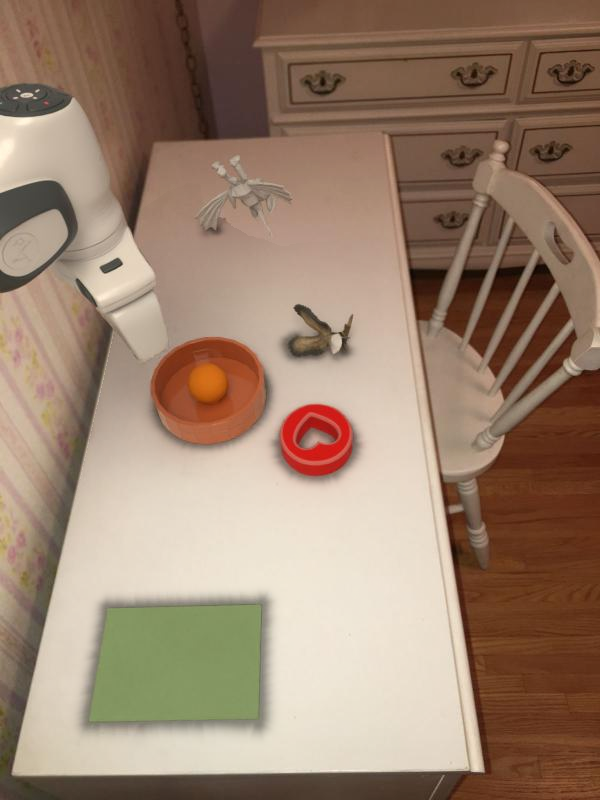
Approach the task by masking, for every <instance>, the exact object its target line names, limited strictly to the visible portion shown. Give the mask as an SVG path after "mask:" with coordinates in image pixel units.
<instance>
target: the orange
mask: <svg viewBox="0 0 600 800" xmlns="http://www.w3.org/2000/svg"><path fill="white" fill-rule="evenodd" d="M188 389H189V391H190V393H191V395H192V396H193V397H194V398H195V399H196V400H197V401H199V402H201V403H205V404H208V405H212V404H216V403H217V402H219V401H220V399H222V398H223V397H224V395H225V394H226V392H227V389H228V378H227V375H226V374H225V372H224V371H223V370H222V369H221V368H220V367H219V366H217V365H214V364H202V365H199V366H197V367H196V368H195V369H194V370H193V371H192V372H191V374H190V376H189V378H188Z"/></svg>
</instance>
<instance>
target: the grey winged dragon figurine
mask: <svg viewBox="0 0 600 800" xmlns="http://www.w3.org/2000/svg"><path fill="white" fill-rule="evenodd" d="M241 159H242V157H241V156H240V154H237V155H235V156H234V157H231V159H229V163H230V167H232V168H233V170H234V171H235V173H236V174H237V176H238V177H239V178H240V180H239V179H238V178H237V177H236V176H235V175H232V176H230V175H229V174H228V171H227V170H226V169H225V166H224V165H223V164H221V162H220V161H219V160H217V161H215V162H213V163H212V165H211V167H210V168H211V169H212V170H215V171H216V173H217V175H218V176H219V178H220V179H224V180H225V181H226V182H227V183H228V184H229V185H230V186H229V188H228V189H226V190H224V191H222V192H221V193H219V194H217V195H216V196H214V197H213V198H212V199H211V200H210V201H209V202H207V203H206V204H205V205H204V206H203V207H201V209H200V210H199V211H198V213H197V214H196V215H195V216H194V219H195V220H197V221H198V226H203V228H204V229H205V231H207V230H208V229H210V228H212V229H213V230H214V231H217V228H218V221H219V219H220V218H219V217H220V215H221V210H222V209H223V207H224V206H225V203H226V202H227V200H229V202H230V204H231V205H232V208H233V209H235V210H236V209H237V199H238V200H240V202H241V203H242V205H244V206H245V207H248V209H249V211H250V214H251V216H252V218H253V219H254V220H256V221H258V222H259V221H260V220H259V217H260V219H261V221H262V222H263V224H264V226H265V228H266V229H267V230H268V233H269V235H270V237H271V239H273V238H274V232H273V231H272V229H271V228H270V226H269V225H268V222H267V217H266V215H265V211H264V208H263V205H262V203H261V202H264V201H265V206H266V208H267V210H268V212H269V217H271V216H272V214H273V212H274V211H275V209H276V207H277V201H278V199H280V200H282V201H284V203H285V202H286V203H287V204H290V205H292V206H293V205H294V204H293V202H292V201H295V199H294V198H293V197H292V196H291V195H292V193H291V192H289V191H288V190H286V189H284V188H285V186H284V185H282V184H276V183H272V182H265V181H264V178H263V177H256V178H255V179H254V178H252V179H248V178H249V176H248V175H247V173H246V171H245V170H244V168H243V166H242V165H241V163H242V162H243V161H242V160H241ZM272 196H273V197H275V198H272Z"/></svg>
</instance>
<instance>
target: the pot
mask: <svg viewBox="0 0 600 800" xmlns="http://www.w3.org/2000/svg"><path fill="white" fill-rule="evenodd" d="M202 364H214V365H217V366H219V367H220V368H221V369H222V370H223V371H224V372H225V374H226V375H227V378H228V389H227V392H226V394H225V395H224V397H223V398H222V399H220V401H219V402H217V403H216V404H212V405H208V404H205V403H201V402H199V401H197V400H196V399H195V398H194V397H193V396H192V395H191V393H190V391H189V389H188V378H189V376H190V374H191V372H192V371H193V370H194V369H195V368H196V367H197V366H199V365H202ZM263 368H264V367H263V364H262V363H261V361H260V359H259V357H258V355H257V354H256V352H254V351H253V350H252V349H251V348H250V347H249V346H247V345H246V344H244V343H242V342H240V341H237V340H235V339H232V338H228V337H222V336H205V337H203V336H202V337H200V338H195V339H192V340H188V341H186V342H184V343H182V344H180V345H177V346H175V347H174V348H173V349H172V350H170V351H169V352H167V353H166V354H165V355H164V356H163V357H162V358H161V360H160V361H159V362H158V364H157V365H156V366H155V368H154V370H153V373H152V376H151V378H150V396H151V398H152V400H153V403H154V406H155V408H156V411H157V414H158V415H159V419H160V421H161V422H162V424H163V425H164V427H165V428H166V430H168V431H169V432H170V433H171V434H172V435H174V436H175V437H177V438H178V439H180V440H182V441H185V442H187V443H193V444H196V445H197V444H198V445H213V444H219V443H224V442H228V441H230V440H233V439H235V438H237V437H239V436H241V435H242V434H244V433H246V432H247V431H248V430H249V429H250V428H252V427H253V426H254V425H255V423H256V422H257V421H258V420H259V418H260V416H261V414H262V413H263V411H264V408H265V406H266V400H267V391H266V381H265V375H264V370H263Z"/></svg>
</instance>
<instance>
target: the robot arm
mask: <svg viewBox="0 0 600 800" xmlns="http://www.w3.org/2000/svg"><path fill="white" fill-rule="evenodd" d="M99 141H100V140H99V139H98V137H97V134H96V132H95V130H94V128H93V126H92V124H91V121H90V120H89V117H88V116H87V114H86V112H85V111H84V109H83V107H82V106H81V104H80V102H79V101H78V100H77V99H76V98H75V97H74V96H73V95H71V94H70V93H68V92H66V91H64V90H62V89H59V88H56V87H54V86H51V85H48V84H43V83H40V82H37V83H35V82H34V83H32V82H31V83H26V82H22V83H20V82H19V83H13V84H9V85H8V84H7V85H4V86H1V87H0V294H4V293H5V294H6V293H10V292H13V291H15V290H17V289H20V288H22V287H25V286H26V285H27V284H29V283H30V282H32V281H33V280H34V279H36V278H37V277H38V276H40V275H41V274H42V273H43V272H44V271H46V269H48V268H49V269H50V271H51V272H52V274H53V276H55V278H57V279H58V280H59V281H61V282H63V283H65V284H67V285H69V286H70V287H71V288H72V289H73V290H75V291H77V292H78V293H80V294H81V295H82V296H83V297H84V298H86V299H87V301H89V302H90V303H91V304H92V306H93V307H94V308H95V310H96V311H97V313H98V314H99V315H100V316H101V317H102V318H103V319H104V320H105V321H106V322H107V324H108V325H109V326H110V327H111V328H112V329H113V331H114V332H115V333H116V334H117V336H118V337H119V338H120V339H121V340H122V341H123V343H124V345H126V347H127V348H128V349H129V350H130V351H131V353H132V354H133V356H134V357H135V359H136V360H137V362H139V363H140V364H144V363H146V362H148V361H149V360H151V359H152V358H153V357H156V356H157V355H159V354H160V353H162V352H163V351H165V350H166V349H167V348H168V347H169V344H170V338H169V337H170V336H169V331H168V327H167V323H166V320H165V317H164V313H163V310H162V305H161V304H160V301H159V298H158V296H157V294H156V292H155V290H154V288H156V287H157V286H158V284H159V283H158V279H157V276H156V273H155V270H154V269H153V268H152V266H151V264H150V262H149V261H148V260H147V259H146V257H145V255H144V254H143V252H142V251H141V249H140V248H139V247H138V245H137V243H136V241H135V238H134V235H133V232H132V230H131V228H130V226H129V225H128V222H127V220H126V217H125V213H124V211H123V208H122V205H121V203H120V202H119V199H118V198H117V197H116V195H115V194H114V193H113V191H112V188H111V174H110V170H109V165H108V164H107V161H106V158H105V154H104V151H103V149H102V146H101V144H100V142H99Z"/></svg>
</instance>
